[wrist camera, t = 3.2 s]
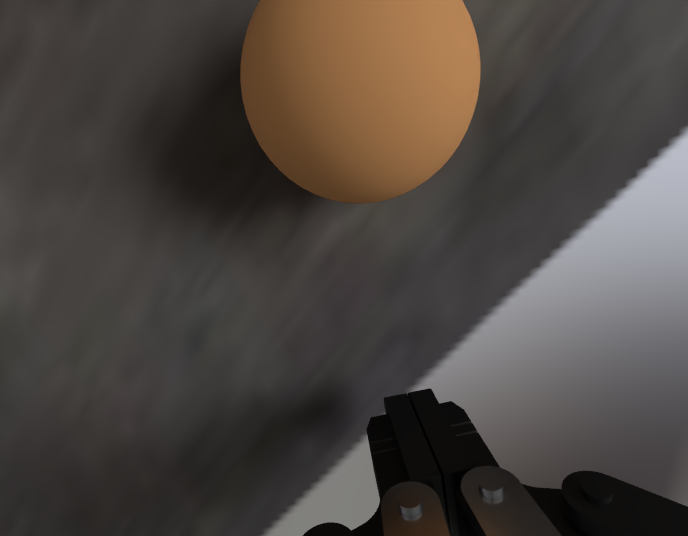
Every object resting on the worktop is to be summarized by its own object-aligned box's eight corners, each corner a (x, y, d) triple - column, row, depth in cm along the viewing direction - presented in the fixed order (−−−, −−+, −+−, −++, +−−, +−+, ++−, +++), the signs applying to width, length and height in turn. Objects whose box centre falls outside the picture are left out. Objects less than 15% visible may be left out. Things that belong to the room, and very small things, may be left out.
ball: (260, 194, 13) (226, 217, 8) (251, -4, 12) (203, -144, 6) (431, 194, 14) (513, 215, 8) (442, 3, 12) (548, -122, 7)
